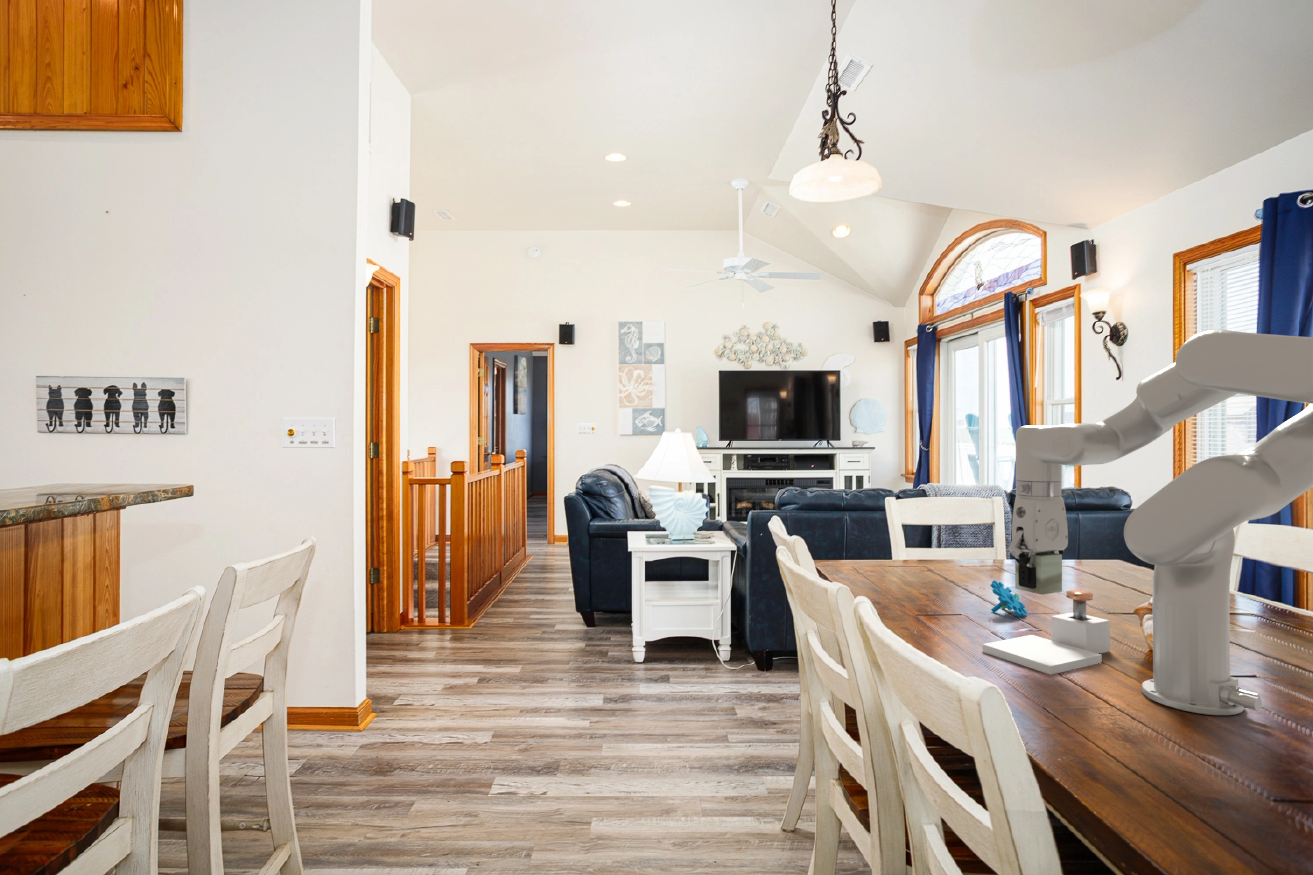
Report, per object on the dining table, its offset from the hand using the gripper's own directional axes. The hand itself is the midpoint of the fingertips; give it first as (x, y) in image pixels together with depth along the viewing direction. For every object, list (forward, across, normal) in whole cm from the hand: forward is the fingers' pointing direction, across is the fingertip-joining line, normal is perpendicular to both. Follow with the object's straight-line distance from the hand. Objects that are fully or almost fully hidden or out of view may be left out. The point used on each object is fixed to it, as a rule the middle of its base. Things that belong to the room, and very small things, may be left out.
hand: (1038, 584), depth 127 cm
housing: (+1, 0, 0) cm, 1 cm away
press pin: (+9, +11, 0) cm, 14 cm away
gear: (+14, +22, +23) cm, 35 cm away
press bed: (+14, +4, 0) cm, 14 cm away
